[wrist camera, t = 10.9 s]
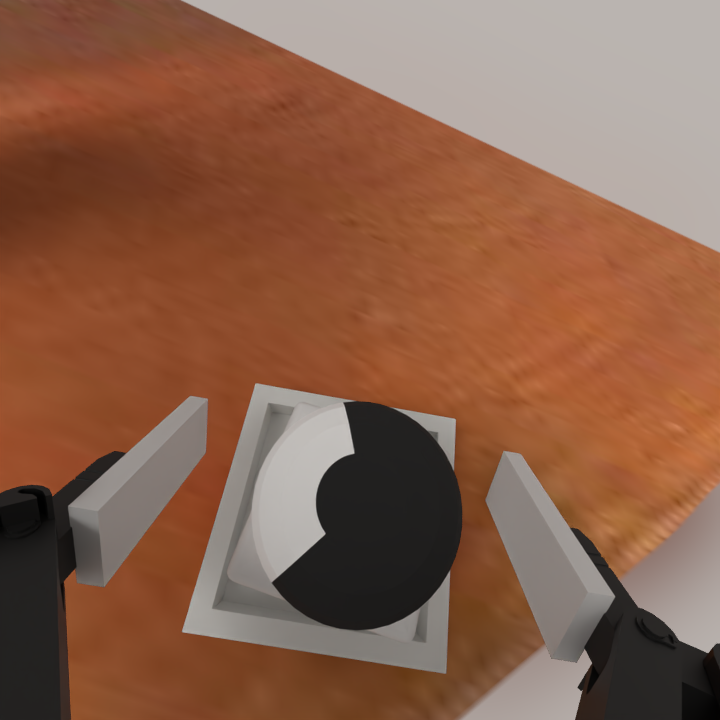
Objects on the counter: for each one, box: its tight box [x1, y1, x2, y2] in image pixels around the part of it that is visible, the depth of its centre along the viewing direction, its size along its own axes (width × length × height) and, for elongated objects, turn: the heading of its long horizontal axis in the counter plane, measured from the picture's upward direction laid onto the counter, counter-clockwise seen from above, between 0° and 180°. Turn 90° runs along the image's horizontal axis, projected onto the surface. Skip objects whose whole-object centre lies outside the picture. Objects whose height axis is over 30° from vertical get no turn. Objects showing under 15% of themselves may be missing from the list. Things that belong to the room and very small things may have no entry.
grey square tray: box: [182, 383, 456, 674], centre depth 20 cm, size 12×12×3 cm
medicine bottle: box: [227, 401, 462, 643], centre depth 15 cm, size 7×7×12 cm
